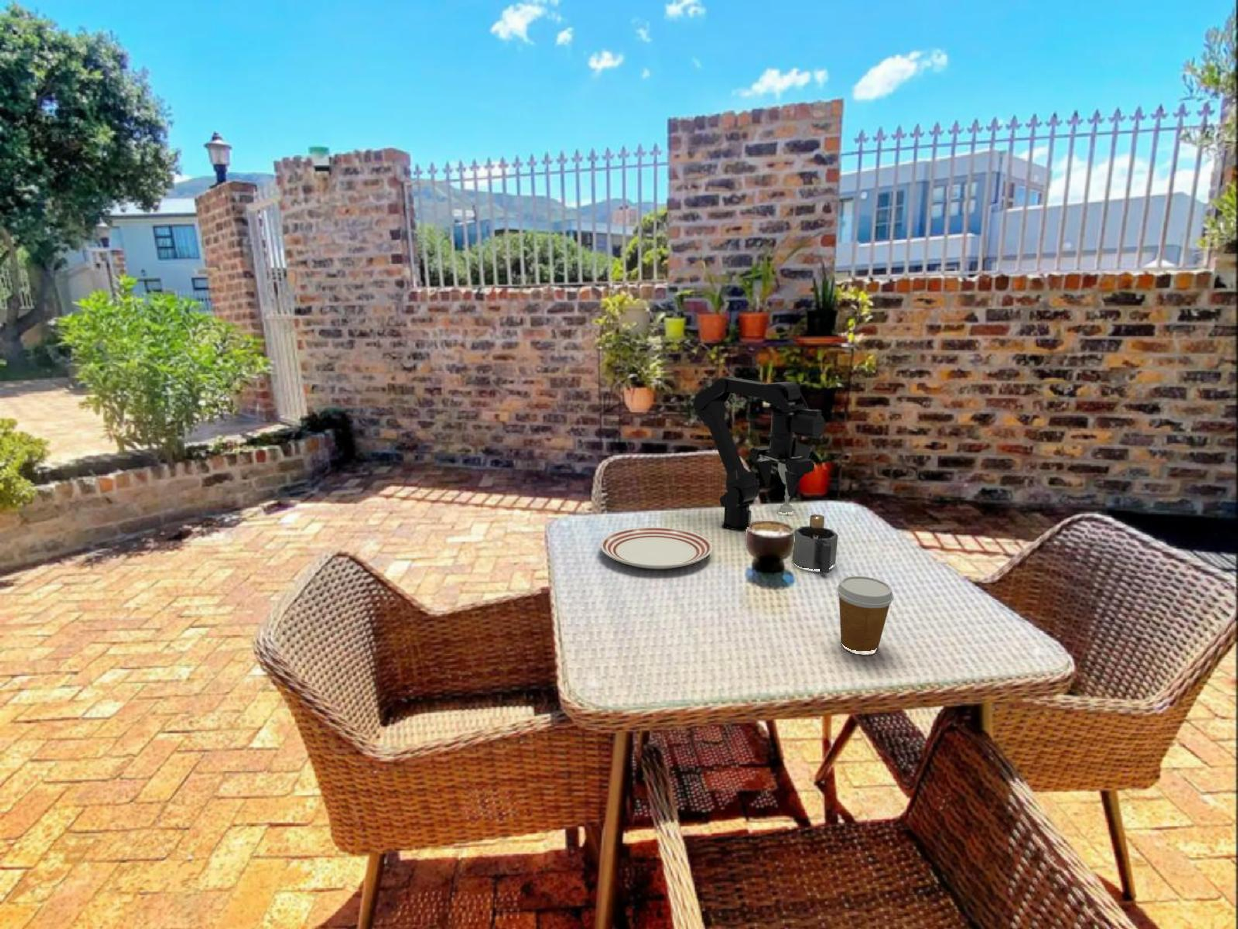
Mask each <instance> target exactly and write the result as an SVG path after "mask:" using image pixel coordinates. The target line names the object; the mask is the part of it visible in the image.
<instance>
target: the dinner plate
mask: <svg viewBox="0 0 1238 929" xmlns="http://www.w3.org/2000/svg"><path fill="white" fill-rule="evenodd" d="M599 546H600V550H601V551H602V552H603V554H605V555H606V556H607V557H609V558H610V559H612V560H614V561H617V562H619V563H622V564H625V565H629V566H632V567H636V568H641V569H647V570H668V569H675V568H681V567H686V566H689V565H692V564H695V563H698V562H700V561H702V560H703V559H705V558H707V557H708V556H709V555H710V554H711V553H712V551H713V544H712V542H710V540H709V539H708V538H705V537H704V536H702V535H700V534H698V533H695V532H692V531H689V530H685V529H680V528H672V527H663V526H647V527H646V526H645V527H643V526H642V527H634V528H633V527H632V528H628V529H627V528H626V529H623V530H618V531H614V532H611V533H610V534H609V535H606V536H605V537H604V538H602V540H601V541H600V545H599Z"/></svg>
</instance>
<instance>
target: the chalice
mask: <svg viewBox="0 0 1238 929" xmlns="http://www.w3.org/2000/svg"><path fill="white" fill-rule="evenodd" d="M801 457H802V456H798V457H792V459H793V458H801ZM777 463H778V465H777V471H778V473H779V477H780V479H781V482H782V484H784V485H785V490H784V492H785V494H784V497H783V498H784V500H785V501H784V502H783V503H782V504H783V505H782V504H781V505H779V508H778V510H777V511H778V512H782V513H786V512H787V513H788V512H792V511H793V510H794V507H793V506H792V504H790V502H789V500H790V498H791V497H790V496H788V492H787V485H786V478H785V471H787V469H786V465H785V464H782V463H779V462H777Z"/></svg>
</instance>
